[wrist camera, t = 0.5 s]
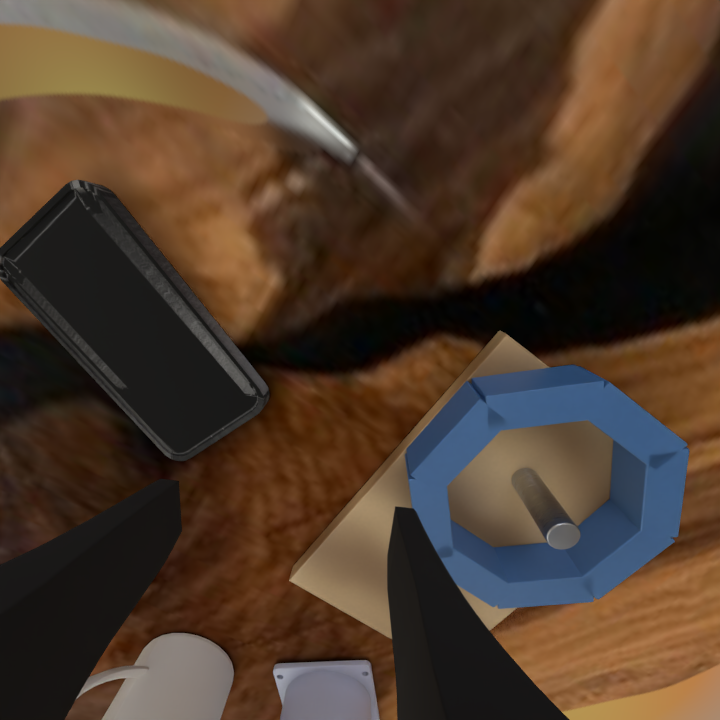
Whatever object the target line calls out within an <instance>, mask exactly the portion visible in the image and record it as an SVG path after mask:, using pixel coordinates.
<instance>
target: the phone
mask: <svg viewBox="0 0 720 720" xmlns="http://www.w3.org/2000/svg"><path fill="white" fill-rule="evenodd" d="M0 279H1V280H2V282H3V283H4V284H5V285H6V286H7V287H8V288H9V289H10V290H11V291H12V292H13V293H14V294H15V295H16V297H17V298H18V299H19V300H20V301H21V302H22V303H23V304H24V305H25V306H26V307H27V308H28V309H29V310H30V311H31V312H32V314H33V315H34V316H35V317H36V318H37V319H38V320H39V321H40V322H41V323H42V324H43V325H44V326H45V327H46V328H47V330H48V331H49V332H50V333H51V334H52V335H53V336H54V337H55V338H56V339H57V340H58V341H59V342H60V343H61V344H62V346H63V347H64V348H65V349H66V350H67V351H68V352H69V353H70V354H71V355H72V356H73V357H74V358H75V359H76V360H77V362H78V363H79V364H80V365H81V366H82V367H83V368H84V369H85V370H86V371H87V372H88V373H89V374H90V375H91V376H92V378H93V379H94V380H95V381H96V382H97V383H98V384H99V385H100V386H101V387H102V388H103V389H104V390H105V391H106V392H107V394H108V395H109V396H110V397H111V398H112V399H113V400H114V401H115V402H116V403H117V404H118V405H119V406H120V407H121V408H122V410H123V411H124V412H125V413H126V414H127V415H128V416H129V417H130V418H131V419H132V420H133V421H134V422H135V423H136V424H137V426H138V427H139V428H140V429H141V430H142V431H143V432H144V433H145V434H146V435H147V436H148V437H149V438H150V439H151V440H152V442H153V443H154V444H155V445H156V446H157V447H158V448H159V449H160V450H161V451H162V452H163V453H164V454H165V455H166V456H167V457H169V458H171V459H173V460H176V461H185V460H188V459H190V458H192V457H193V456H195V455H196V454H198V453H199V452H201V451H202V450H204V449H205V448H207V447H208V446H210V445H212V444H213V443H215V442H216V441H218V440H219V439H221V438H222V437H224V436H225V435H227V434H228V433H230V432H231V431H233V430H234V429H236V428H238V427H239V426H241V425H242V424H244V423H245V422H247V421H248V420H250V419H251V418H253V417H254V416H256V415H257V414H258V413H259V412H260V411H261V410H262V409H263V408H264V406H265V405H266V404H267V402H268V400H269V394H270V393H269V389H268V386H267V385H266V383H265V382H264V380H263V379H262V378H261V377H260V375H259V374H258V373H257V372H256V370H255V369H254V368H253V367H252V365H251V364H250V363H249V362H248V360H247V359H246V358H245V357H244V355H243V354H242V353H241V352H240V350H239V349H238V348H237V347H236V345H235V344H234V343H233V342H232V340H231V339H230V338H229V337H228V335H227V334H226V333H225V332H224V330H223V329H222V328H221V327H220V325H219V324H218V323H217V322H216V320H215V319H214V318H213V317H212V315H211V314H210V313H209V312H208V310H207V309H206V308H205V307H204V305H203V304H202V303H201V302H200V300H199V299H198V298H197V297H196V295H195V294H194V293H193V292H192V290H191V289H190V288H189V287H188V285H187V284H186V283H185V282H184V280H183V279H182V278H181V277H180V275H179V274H178V273H177V272H176V270H175V269H174V268H173V267H172V265H171V264H170V263H169V262H168V260H167V259H166V258H165V257H164V255H163V254H162V253H161V252H160V250H159V249H158V248H157V247H156V245H155V244H154V243H153V242H152V240H151V239H150V238H149V237H148V235H147V234H146V233H145V232H144V230H143V229H142V228H141V227H140V225H139V224H138V223H137V222H136V220H135V219H134V218H133V217H132V215H131V214H130V213H129V212H128V210H127V209H126V208H125V207H124V205H123V204H122V203H121V202H120V200H119V199H118V198H117V197H116V195H115V194H114V193H113V192H112V191H111V190H109V189H108V188H106V187H104V186H102V185H98V184H94V183H90V182H87V181H82V180H74V181H71V182H69V183H67V184H66V185H65V186H64V187H63V188H62V189H61V190H60V191H59V192H58V193H57V194H56V195H54V196H53V197H52V198H51V199H50V200H49V201H48V202H47V203H46V204H45V205H44V206H43V207H42V208H41V209H40V210H39V211H38V212H37V213H36V214H35V215H34V216H33V217H32V218H31V219H30V220H29V221H28V222H27V223H25V224H24V225H23V226H22V227H21V228H20V229H19V230H18V231H17V232H16V233H15V234H14V235H13V236H12V237H11V238H10V239H9V240H8V241H7V242H6V243H5V244H4V245H3V246H2V247H1V248H0Z"/></svg>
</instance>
